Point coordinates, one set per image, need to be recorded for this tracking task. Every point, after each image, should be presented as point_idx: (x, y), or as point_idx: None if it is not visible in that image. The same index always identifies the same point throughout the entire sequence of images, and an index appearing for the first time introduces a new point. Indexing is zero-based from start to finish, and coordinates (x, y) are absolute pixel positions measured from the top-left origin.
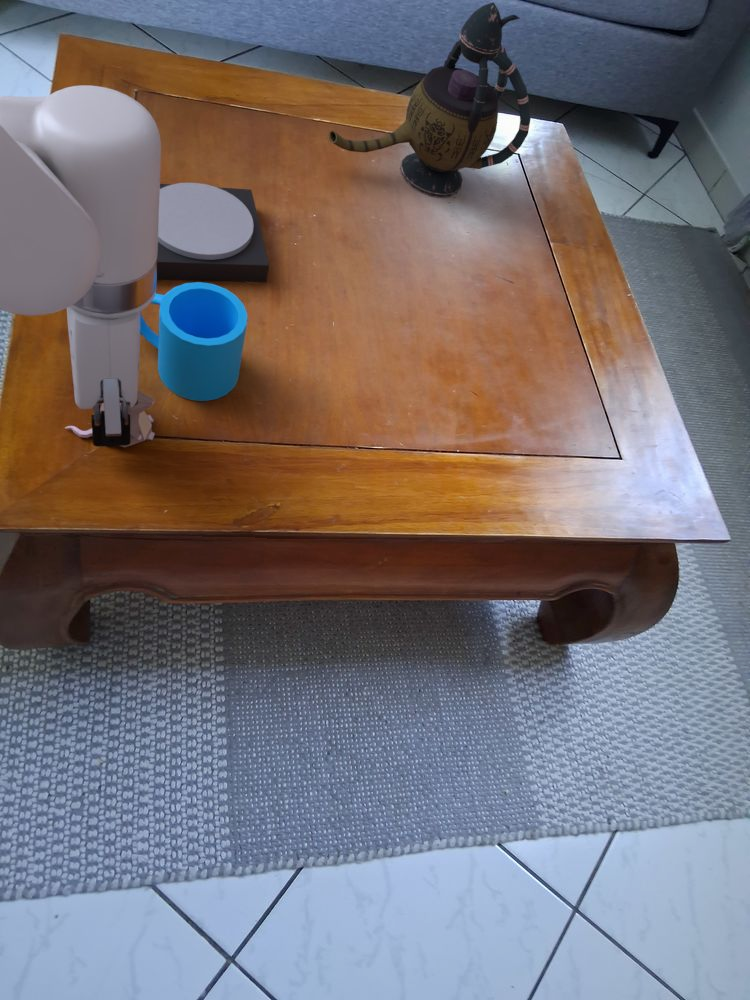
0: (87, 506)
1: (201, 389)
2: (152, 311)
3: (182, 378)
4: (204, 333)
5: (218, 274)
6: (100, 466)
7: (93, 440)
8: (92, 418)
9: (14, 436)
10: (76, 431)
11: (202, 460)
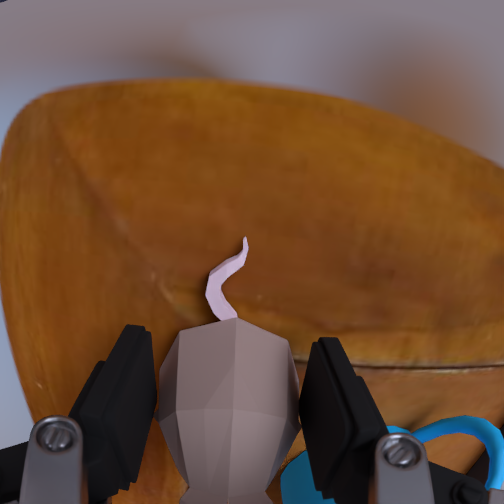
0: (26, 259)
1: (285, 498)
2: (483, 404)
3: (308, 497)
4: None
5: (481, 468)
6: (120, 303)
7: (121, 336)
8: (86, 415)
9: (240, 96)
10: (219, 269)
11: (147, 456)
